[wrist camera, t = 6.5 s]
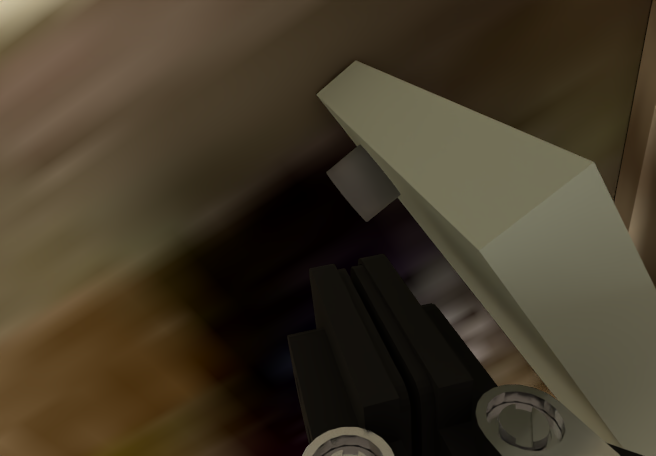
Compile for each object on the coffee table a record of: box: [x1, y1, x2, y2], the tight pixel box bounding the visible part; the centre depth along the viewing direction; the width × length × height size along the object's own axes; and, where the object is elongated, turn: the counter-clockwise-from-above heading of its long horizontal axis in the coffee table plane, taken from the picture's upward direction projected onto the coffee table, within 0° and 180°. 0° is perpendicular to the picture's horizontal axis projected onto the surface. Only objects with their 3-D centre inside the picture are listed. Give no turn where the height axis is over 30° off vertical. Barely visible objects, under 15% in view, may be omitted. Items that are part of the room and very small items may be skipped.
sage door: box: [316, 60, 656, 456], centre depth 15 cm, size 20×3×12 cm, turn 38°
